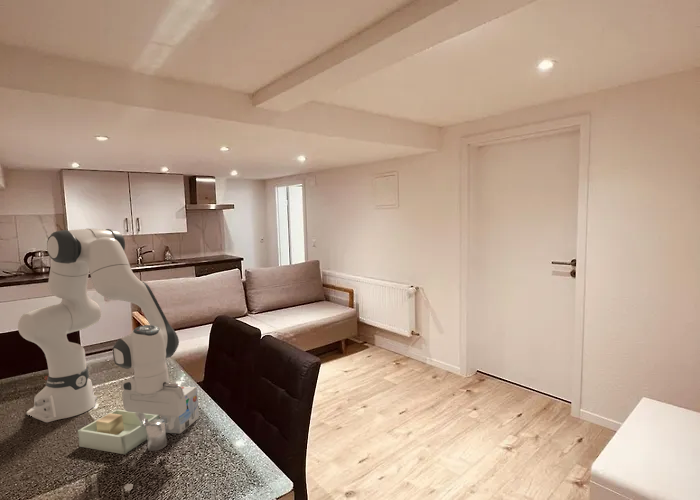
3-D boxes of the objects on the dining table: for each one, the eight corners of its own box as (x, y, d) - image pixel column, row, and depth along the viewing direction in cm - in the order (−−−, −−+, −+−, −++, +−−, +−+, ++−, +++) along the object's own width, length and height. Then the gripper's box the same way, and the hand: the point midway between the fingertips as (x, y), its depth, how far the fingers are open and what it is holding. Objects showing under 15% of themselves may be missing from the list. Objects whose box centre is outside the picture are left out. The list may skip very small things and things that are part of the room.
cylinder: (144, 449, 117) (141, 426, 116) (157, 440, 121) (155, 418, 121) (157, 452, 115) (155, 428, 114) (170, 442, 120) (168, 420, 119)
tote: (79, 446, 120) (77, 430, 120) (118, 423, 133) (116, 409, 133) (124, 454, 115) (123, 437, 114) (160, 429, 128) (159, 414, 127)
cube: (110, 438, 122) (108, 422, 121) (97, 436, 123) (96, 421, 123) (123, 430, 127) (122, 414, 126) (111, 428, 128) (110, 413, 128)
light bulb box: (180, 434, 124) (177, 400, 123) (161, 433, 126) (158, 400, 125) (200, 417, 135) (197, 386, 134) (182, 416, 136) (179, 385, 135)
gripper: (189, 379, 116) (193, 425, 117) (134, 375, 123) (138, 418, 124) (173, 388, 110) (178, 436, 111) (116, 383, 117) (121, 429, 118)
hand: (157, 427), depth 118 cm, fingers open, 8 cm apart
